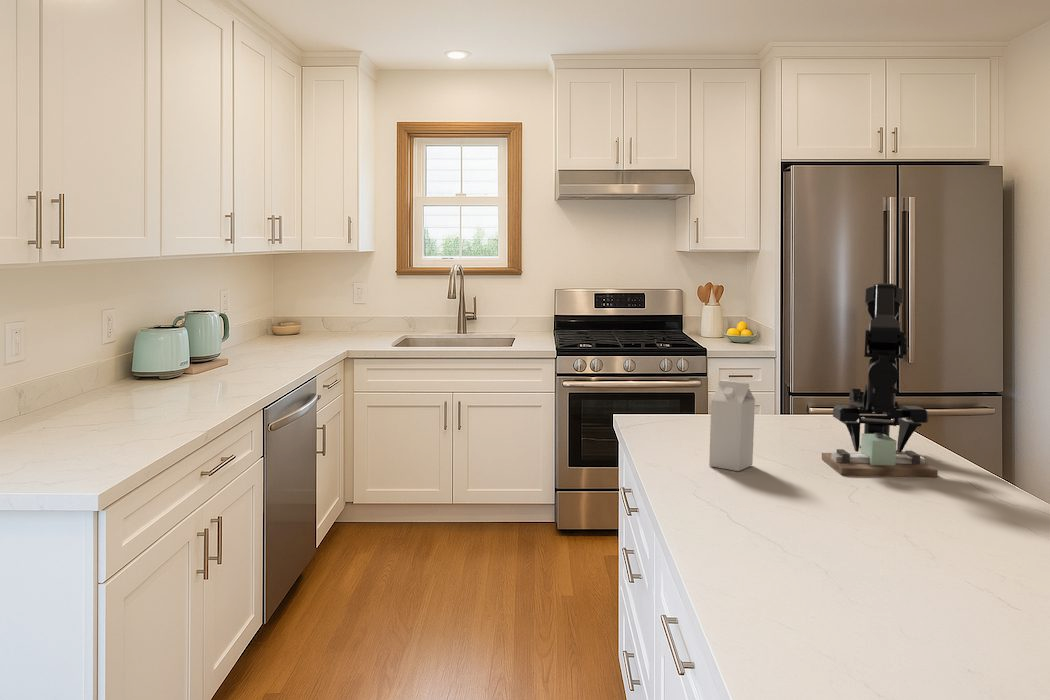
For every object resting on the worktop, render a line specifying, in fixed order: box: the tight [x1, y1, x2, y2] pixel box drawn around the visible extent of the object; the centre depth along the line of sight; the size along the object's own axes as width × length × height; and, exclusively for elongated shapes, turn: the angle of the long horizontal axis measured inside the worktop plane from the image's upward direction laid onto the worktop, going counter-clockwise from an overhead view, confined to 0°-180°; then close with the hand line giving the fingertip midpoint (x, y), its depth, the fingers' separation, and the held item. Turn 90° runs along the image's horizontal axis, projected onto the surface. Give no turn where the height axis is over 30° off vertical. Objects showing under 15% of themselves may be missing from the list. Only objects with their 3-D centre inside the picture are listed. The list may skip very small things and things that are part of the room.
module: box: [860, 433, 898, 465], centre depth 178 cm, size 5×7×6 cm
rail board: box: [821, 448, 939, 478], centre depth 179 cm, size 20×14×4 cm
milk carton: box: [709, 380, 756, 472], centre depth 179 cm, size 7×7×19 cm
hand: (877, 451), depth 179 cm, fingers open, 9 cm apart
